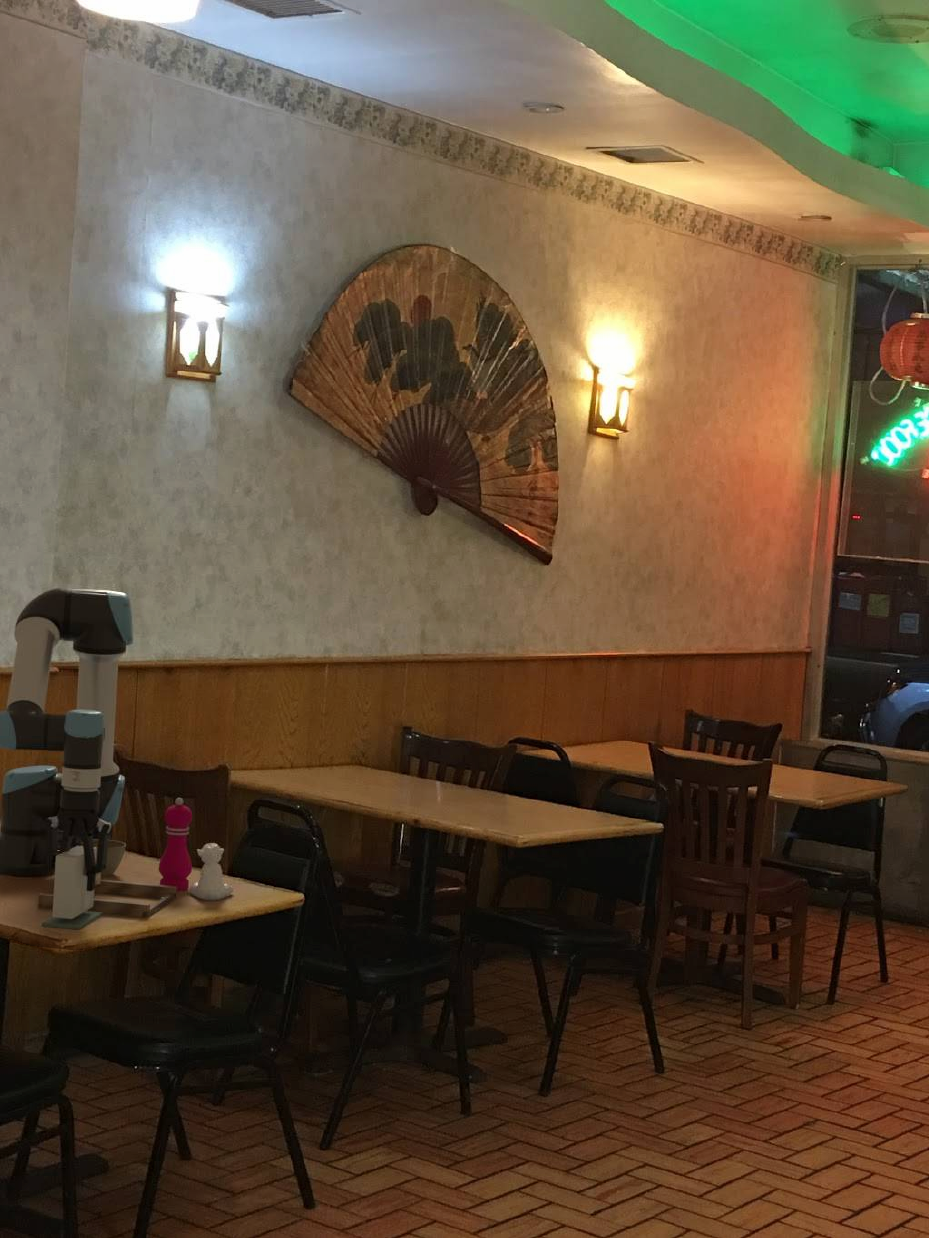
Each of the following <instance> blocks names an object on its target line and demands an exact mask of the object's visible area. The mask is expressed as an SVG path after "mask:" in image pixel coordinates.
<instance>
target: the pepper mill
mask: <svg viewBox="0 0 929 1238" xmlns="http://www.w3.org/2000/svg"><path fill="white" fill-rule="evenodd" d="M174 802H175V803H174V805H171V806H169V807H167V809H166V810H165V813H164V822H165V823H166V824H167V826H166V827H165V829H166V831H165V833H166V834H167V842H166V843H167V844H166V847H165V849H164V851H163V854H162V857H161V858H160V861H159V864H158V872H159V874H160V875H161V878H160V880H159V885H165V886H176V887H177V890H181V891H186V890H188V889H189V888H190V886H189V885H190V884H189V882H190V881H189V879H188V877H189V876H190V874H191V873H192V870H193V869H192V868H193V867H192V866H193V865H192V861H191V857H190V854H189V852H188V847H187V837H188V836H187V835H189V834H190V832H189V830H190V827H189V825H190V824H191V823H192V820H193V814H192V811H191V809H190V807H189V806H186V805H184V799H183V798H181V797H177V798H176V799H175V801H174ZM185 889H186V890H185Z"/></svg>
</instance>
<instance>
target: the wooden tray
mask: <svg viewBox="0 0 929 1238" xmlns="http://www.w3.org/2000/svg"><path fill="white" fill-rule="evenodd" d="M177 892H178V891H177V887H176V886H165V885H160V884H153V883H144V882H132V881H131V882H130V881H123V880H122V881H121V880H111V879H100V884H98V885H95V889H94V893H102V894H103V893H104V894H110V893H111V894H113V895H121V894H122V895H121V896H131V895H132V896H133V897H141V898H152V897H164V898H160V899H159V900H157V901H156V902H154V903H152V904H150V903H148V902H147V903H146V902H136V901H125V900H115V899H103V898H96V897H94V903H93V907H92V908H90V909H88V910H87V911H94V912H103V914H107V915H108V914H110V915H116V916H117V915H119V916H127V917H129V916H130V917H139V918H149V917H150V916H152V915H153V914H154V912H155V911H156V910H158V909H159V908H161V907H162V908H164V907H165V906H166V904H167V903H168V904H169V902H170V901H171V902H172V900H173V899H174V898H176V899H177ZM53 898H54V892H53V893H51V894H50V893H39V894H38V902H37V908H43V907H44V908H45V909H46V908H47V909H53ZM174 900H175V899H174ZM174 900H173V901H174ZM171 902H170V903H171ZM168 904H167V905H168ZM163 906H164V907H163ZM162 908H161V909H162ZM159 910H160V909H159ZM159 910H158V911H159ZM156 912H157V911H156ZM156 912H155V913H156ZM152 913H153V914H152ZM151 914H152V915H151ZM148 916H149V917H148Z"/></svg>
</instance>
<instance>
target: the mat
mask: <svg viewBox="0 0 929 1238" xmlns="http://www.w3.org/2000/svg"><path fill="white" fill-rule="evenodd" d="M103 915H104V913H103V912H94V911H85V912H83V913H81V914H80V915H78V916H76V917H75V918H73V919H68V918H57V917H52V916H51V917H50V918H48V919H47V920H45V921H43V922H41V927H50V928H60V929H67V930H68V929H69V930H70V929H71V930H81V929H83V928H85V926H87V925H89V924H91V923H92V922H94V921H95V920H97V919H99V918H100V917H102V916H103Z"/></svg>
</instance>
